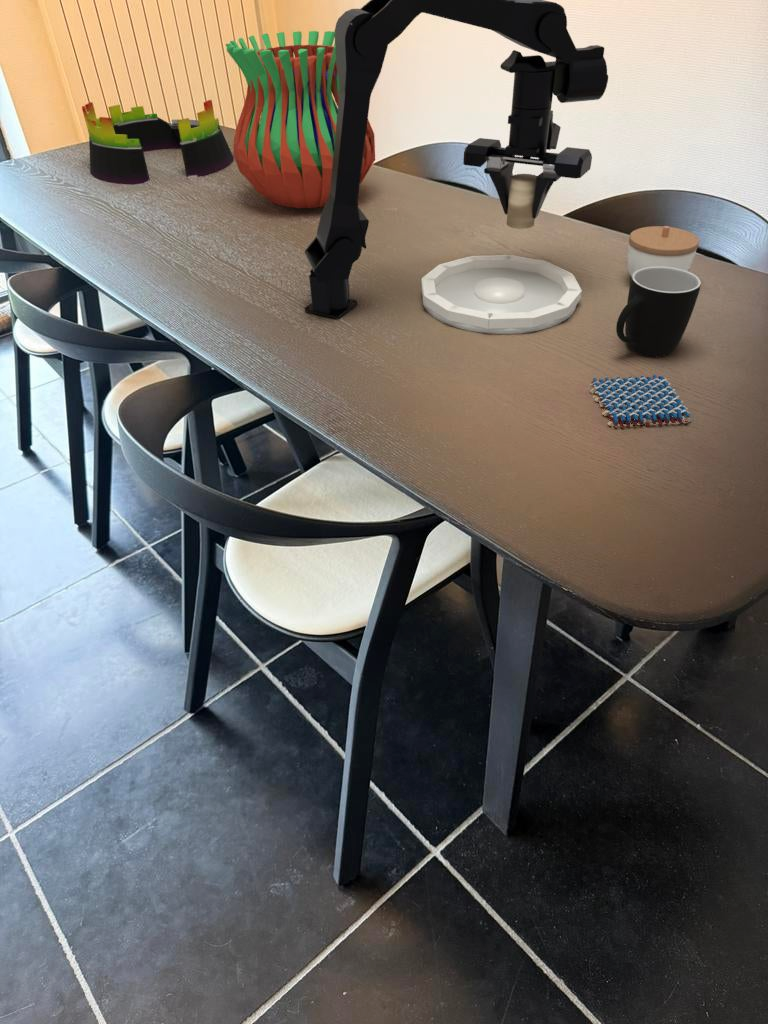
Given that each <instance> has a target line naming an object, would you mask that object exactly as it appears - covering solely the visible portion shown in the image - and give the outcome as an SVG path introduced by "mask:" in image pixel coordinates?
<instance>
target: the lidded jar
mask: <svg viewBox="0 0 768 1024" xmlns="http://www.w3.org/2000/svg"><path fill="white" fill-rule="evenodd" d="M699 244H700V239H699V237H698V236H697V235H696V234H694V233H692V232H690V231H688V230H685V229H682V228H678V227H672V226H669V225H664V226H660V225H659V226H658V225H656V226H655V225H653V226H644V227H640V228H637V229H635V230H633V231H631V232H630V234H629V237H628V246H627V251H626V253H627V254H626V266H627V270H628V273H629V275H630V277H631V278H632V275H633V274H634V273H635V272H636V271H637V270H640V269H642V268H647V267H656V266H662V267H673V268H678V269H682V270H685V271H688V272H690V271H689V270H690V268H691V267H692V265H693V262H694V260H695V257H696V253H697V250H698V247H699Z"/></svg>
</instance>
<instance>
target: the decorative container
mask: <svg viewBox="0 0 768 1024" xmlns="http://www.w3.org/2000/svg"><path fill="white" fill-rule="evenodd" d="M107 107H108V112H109V115H110V117H106V116H104V117H103V116H99V117H98V118H97V114H96V110H95V107H94V103H93V102H92V101H90V102H88V103H86V104H84V105H81V110H82V113H83V117H84V120H85V121H84V122H85V125H86V128H87V131H88V141H89V142H88V145H89V169H90V170H89V171H90V175H91V176H92V177H93V178H95V179H97V180H99V181H102V182H105V183H111V184H118V185H130V186H131V185H133V186H134V185H140V184H148V183H150V182H151V179H150V175H149V170H148V166H147V161H146V157H145V156H146V155H145V154H144V153H145V152H153V151H159V150H160V151H161V150H176V149H177V150H179V149H180V150H181V154H182V160H183V165H184V170H185V176H186V178H188V177H191V178H199V177H200V176H202V177H207V176H209V174H210V175H212V174H216V173H218V172H220V171H222V170H224V169H226V168H228V167H229V166H231V165H232V164H233V162H234V160H235V157H234V154H233V153H232V151H231V149H230V146H229V144H228V142H227V139H226V137H225V135H224V132H223V131H222V127H221V126H220V121H219V120H220V119H219V117H216V118H215V113H214V105H213V101H212V99H208V100H206V101H204V102H203V108H204V110H202V111H199V112H197V113H196V115H197V119H190V118H189V117H186V118H181V119H171V123H169V122H167V121H166V120H164V119H162V118H160V117H159V116H158V114H157V113H147V114H146V113H145V109H144V106H143V105H139V106H133V107H130V110H131V111H124V112H122V108H121V105H120V104H115V105H110V106H107ZM206 175H207V176H206ZM149 181H150V182H149ZM147 182H148V183H147Z"/></svg>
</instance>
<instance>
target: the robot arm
mask: <svg viewBox="0 0 768 1024" xmlns="http://www.w3.org/2000/svg"><path fill="white" fill-rule="evenodd" d="M422 13H424V14H426V15H427V14H428V15H432V16H435V17H439V18H443V19H445V20H446V19H447V20H450V21H455V22H459V23H462V24H467V25H471V26H474V27H479V28H482V29H487V30H491V31H493V32H494V33H496V34H498V35H499V36H502V37H503V38H505V39H507V40H509V41H511V42H513V43H515V44H516V45H519V46H520V47H522V48H526V49H528V50H531V51H534V52H538V53H540V54H543V55H546V56H548V57H549V56H550V57H552V58H555V60H554V61H545V59H544V57H543V56H542V55H540V54H538V55H537V54H536V55H523V54H522V53H521V52H520V51H518V50H515V49H514V50H512V51H511V53H510V54H509V56H508V57H506V59H505V60H504V61H503V62H502V63H501V64H500V69H501V70H503V71H506V72H508V73H510V74H514V76H513V86H512V87H513V88H512V101H511V111H510V112H511V114H509V115H508V118H507V124H508V125H510V126H509V136H508V137H509V138H508V139H509V140H508V145H506V147H502V143H501V140H500V139H493V138H482V137H479V138H477V139H476V140H474V141H472V142H471V143H469V144H467V146H466V147H465V148H464V151H463V163H462V164H463V165H464V166H470V167H476V168H481V167H483V165H484V164H485V163H486V166H485V168H484V170H483V173H484V174H487V175H488V176H489V177H490V179H491V181H492V184H493V186H494V187H495V191H496V192H497V195H498V197H499V202H500V204H501V207H502V210H503V213H504V215H507V212H508V200H509V189H510V177H511V176H513V171H514V168H515V164H523V165H529V166H531V165H532V166H539V167H541V166H542V170H543V171H542V172H541V173H539V174H538V175H536V176H537V179H536V187H535V195H534V203H533V218H534V219H536V218H537V217H538V215H539V214H540V212H541V209H542V207H543V204H544V202H545V200H546V198H547V195H548V193H549V191H550V189H551V187H552V186H553V184H554V183H555V182H557V181H558V180H559V179H561V177H562V178H568V179H581V177H583V176H584V175H586V173H588V172H589V170H591V166H592V159H593V155H592V152H591V150H590V149H588V148H580V147H579V148H578V147H571V146H569V147H568V146H567V147H565V148H564V149H563V150H561V152H558V153H557V152H556V153H555V152H547V150H549V151H550V150H557V146H558V141H559V136H560V131H561V129H562V127H561V126H560V125H558V124H557V123H555V122H554V121H553V120H554V110H552V104H553V96H556V99H557V101H558V102H559V103H560V104H565V103H566V104H567V103H574V102H575V103H577V102H588V101H598V100H600V99H601V98H602V97H603V96H604V94H605V92H606V90H607V85H608V82H609V75H608V67H607V61H606V59H605V57H604V55H605V47H604V46H601V45H598V44H594V45H588V46H586V47H577V48H576V45H575V43H574V41H573V38H572V37H571V34H570V33H569V30H568V29H567V28H568V27H567V26H568V19H567V18H568V17H567V14H566V11H565V8H564V7H563V6H562V5H561V4H559V3H557V2H553V1H550V0H369V1H367V2H366V3H365V4H364V5H363V6H362V7H360V8H351V9H349V10H347V11H345V12H344V13H343V14H342V15H340V16H339V18H338V19H337V21H336V24H335V28H334V32H335V37H334V43H335V53H336V64H337V71H338V78H339V86H340V92H339V102H338V106H337V108H338V113H337V123H336V134H335V144H334V154H333V165H332V175H331V186H330V194H329V197H328V200H327V202H326V204H325V206H323V209H322V212H321V215H320V217H319V222H318V226H317V230H316V236H315V237H314V239H312V240H311V242H310V243H309V245H308V246H307V247H306V249H305V250H304V254H305V257H306V259H307V260H308V263H309V265H310V267H311V269H310V271H309V272H310V273H309V276H308V278H309V291H310V299H311V303H309V304H307V306H306V307H305V306H304V312H306V313H310V314H314V315H319V316H323V317H327V318H332V319H337V320H338V319H339V318H341V317H342V316H344V315H345V314H346V313H348V312H349V311H350V310H351V309H353V308H354V307H355V306H357V305H358V300H355V299H351V298H350V283H349V281H350V280H349V277H350V275H351V270H352V268H353V264H354V263H355V262H356V261H358V260H359V259H360V257H361V254H362V251H363V249H367V243H366V235H367V232H368V228H369V223H370V221H369V219H368V218H367V216H366V215H365V214H364V212H363V211H362V210H361V208H359V194H360V186H361V184H360V179H361V171H362V163H363V154H364V146H365V138H366V129H367V121H368V120H369V111H370V105H371V104H370V103H371V96H372V93H373V91H374V89H375V87H376V84H377V82H378V79H379V78H380V77H379V76H380V75H381V72H382V69H383V66H384V62H385V57H386V54H387V50H388V46H389V45H390V44H391V43H392V42H394V41H395V39H397V38H398V37H400V36H401V34H403V33H404V31H405V30H406V29H407V28H408V26H410V24H411V23H412V22H413V21H414V20H415V18H417V17H418V16H419V15H420V14H422Z"/></svg>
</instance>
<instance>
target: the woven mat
mask: <svg viewBox="0 0 768 1024" xmlns="http://www.w3.org/2000/svg"><path fill="white" fill-rule="evenodd" d="M669 385H671V382H669V381H668V378H665V377H664V376H662V375H659V376H658V377H657V374H653V375H652V376H646V377H645V376H644V375H640V377H634V378H633V377H632V376H628V377H622V378H621V377H620V376H617V378H610V379H609V377H605V378H604V379H603V378H601V379H598V380H597V377H594V378H593V379H592V381H591V383H590V385H589V386H590V387H587V390H589V392H590V393H591V394H592V396H593V397H594V398H593V397H592V398H593V399H594V401H595V402H596V403H597V402H599V403H598V404H599V405H600V406H602V407H604V408H602V409H601V411H602V410H603V409H604V410H605V411H604V412H603V411H602V412H601V415H602V416H603V415H604V416H606V417H607V416H608V417H607V418H605V419H606V420H607V419H609V420H610V419H611V421H607V424H608V425H610V426H612V425H614V426H618V424H619V423H620V426H621V427H620V428H621V429H623V428H625V427H624V425H623V423H626V425H627V427H631V426H630V425H631V423H632V424H633V425H637V422H638V423H639V424H640V425H643V424H646V425H647V426H646V427H650V426H651V425H650V423H653V424H656V423H657V422H656V421H658V423H659V424H663V422H662V421H665V423H666V424H667V425H670V424H669V421H670V420H671V422H672V423H676V421H675V420H677V421H678V422H679V423H681V424H683V423H682V420H690V419H691V418H690V417H691V414H690V411H688V410H689V407H686V406H685V405H682V404H683V403H684V400H681V399H680V395H677V392H675V391H676V389H675V388H672V387H671V386H669ZM593 394H596V395H593ZM672 396H673V397H672ZM600 406H599V407H600ZM672 406H673V407H672ZM604 416H603V417H604ZM672 416H673V417H672ZM630 418H631V419H630ZM621 419H622V420H621ZM634 419H635V420H636V421H635V420H634ZM685 422H688V421H685ZM608 425H607V426H608ZM610 426H609V427H610ZM643 426H644V425H643ZM622 427H623V428H622Z"/></svg>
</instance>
